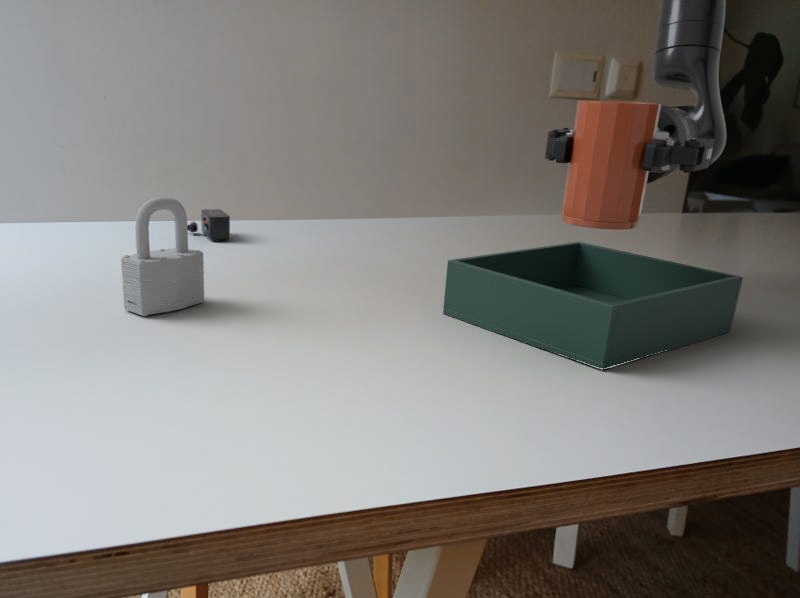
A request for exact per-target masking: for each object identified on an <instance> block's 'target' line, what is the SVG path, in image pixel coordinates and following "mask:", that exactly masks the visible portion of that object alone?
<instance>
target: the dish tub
mask: <svg viewBox="0 0 800 598" xmlns="http://www.w3.org/2000/svg"><path fill="white" fill-rule="evenodd" d="M445 278H446V279H445V287H444V299H443V310H442V314H443V315H446V316H449V317H452V318H455V319H457V320H460V321H462V320H463V322H466V323H468V324H471V325H474V326H476V325H477V326H476V327H480V328H483V329H485V330H487V329H488V330H489V331H490V332H493V333H496V334H499V335H501V334H502V336H504V335H505V336H504V337H507V336H508V337H507V338H509V339H512V338H513V339H512V340H515V339H516V340H515V341H518V340H519V341H518V342H521V341H523V342H522V343H524V342H526V343H528V344H527V345H529V344H531V345H530V346H532V345H534V346H533V347H535V346H536V347H535V348H537V347H539V348H538V349H540V348H543V349H546V350H548V351H547V352H549V351H552V352H555V353H557V354H561V355H564V356H567V357H569V358H573V359H575V360H579V361H582V362H585V363H587V364H590V365H593V366H596V367H599V368H603V369H604V368H607V367H610V366H613V365H617V364H621V363H624V362H627V361H631V360H634V359H637V358H641V357H645V356H647V355H651V354H655V353H658V352H661V351H665V350H669V349H672V350H674V349H673V348H675V349H678V348H677V347H679V348H681V346H682V347H685V346H688V345H691V344H690V343H692V344H694V342H695V343H697V341H698V342H701V341H705V340H708V339H711V338H714V336H715V337H717V336H721V335H724V334H727V333H731V330H732V326H733V322H734V317H735V313H736V310H737V305H738V300H739V296H740V293H741V292H740V291H741V289H742V284H743V279H744V276H740V275H736V274H733V273H732V274H731V273H726V272H722V271H718V270H713V269H709V268H703V267H699V266H694V265H690V264H685V263H684V264H683V263H680V262H676V261H671V260H665V259H661V258H656V257H651V256H648V255H644V254H643V255H642V254H638V253H634V252H633V253H632V252H629V251H624V250H619V249H614V248H610V247H605V246H600V245H596V244H590V243H586V242H582V241H574V242H573V241H572V242H567V243H560V244H552V245H546V246H545V245H544V246H538V247H533V248H532V247H531V248H524V249H517V250H512V251H511V250H509V251H504V252H497V253H490V254H483V255H482V254H481V255H475V256H474V255H473V256H467V257H461V258H453V259H447V267H446V277H445ZM704 339H705V340H704ZM700 340H701V341H700ZM526 343H525V344H526ZM687 344H688V345H687ZM684 345H685V346H684ZM543 349H542V350H543ZM546 350H545V351H546ZM669 351H670V350H669ZM665 352H666V351H665ZM557 354H556V355H557Z"/></svg>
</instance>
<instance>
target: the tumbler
mask: <svg viewBox="0 0 800 598" xmlns="http://www.w3.org/2000/svg"><path fill="white" fill-rule="evenodd" d="M661 105H662V103H657V102H656V103H655V102H637V101H617V100H616V101H614V100H584V99H583V100H582V99H581V100H577V105H576V110H575V111H576V112H575V117H574V118H575V119H574V124H573V130H574V131H573V138H572V144H571V151H570V158H569V163H567V171H566V178H565V186H564V191H563V192H564V193H563V199H562V206H561V217H560V220H561V221H562V222H563V223H567V224H569V225H573V226H576V227H583V228H589V229H599V230H632V229H636V228H638V227H639V223H640V219H641V216H642V211H643V206H644V205H643V204H644V199H645V196H646V195H645V194H646V189H647V185H648V184H647V179H648V173H649V171H643V162H644V156H645V151H646V146H647V144H648V142H653V141H655V136H656V130H657V125H658V120H659V114H660V109H661Z"/></svg>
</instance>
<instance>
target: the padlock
mask: <svg viewBox="0 0 800 598" xmlns="http://www.w3.org/2000/svg"><path fill="white" fill-rule="evenodd" d="M162 210H166V211H170V212H171V213H172V216H173V220H174V233H175V234H174V238H175V239H174V241H175V247H174V248H173V247H172V248H159V249H155V250H151V249H150V228H149V227H150V220H151V217H152V215H153V214H154V213H155V212H158V211H162ZM187 226H188V217H187V212H186V209H185V207H184V205H183V204H182V202H180V201H178V200H177V199H175V198H173V197H168V196H157V197H153V198H151V199H149V200H146V201H145V202H144V203H143V204H142V205H141V206H140V207H139V209H138V210H137V213H136V216H135V228H134V229H135V246H136V253H134V254H129V255H128V254H126V255H124V256H122V257H121V259H120V263H121V265H120V266H121V277H122V278H121V280H122V295H123V309H124V310H126V311H128V312H132V313H134V314H136V315H140V316H142V317H147V316H148V315H154V314H155V315H156V314H163V313H169V312H174V311H178V310H183V309H186V308H188V307H191V306H194V305H198V304H199V305H201V304H202V303H204V302H205V272H204V271H205V270H204V268H205V267H204V266H205V265H204V262H205V260H204V252H203V251H201V250H199V249H193V248H190V247H189V235H188V233H189V231H188V230H187Z"/></svg>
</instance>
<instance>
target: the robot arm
mask: <svg viewBox="0 0 800 598" xmlns="http://www.w3.org/2000/svg"><path fill="white" fill-rule="evenodd" d="M726 3H727V1H726V0H659V8H658V18H657V26H656V34H655V42H654V49H653V57H652V64H651V78H652V80H653V82H654V83H655V84H657V85H658V86H662V87H665V88H670V89H677V90H683V91H687V92H690V93H691V94H692V95H694V97H695V98H694V99H695V103H693V104H681V105H680V104H679V105H665V104H661V109H660V114H659V120H658V125H657V130H656V136H655V141H653V142H648V144H647V146H646V151H645V156H644V162H643V171H649V173H648V179H647V184H646V185H648V184H651V183H654V182H656V181H657V180H660V179H663V178H665V177H666V176H669V175H670V174H672V173H673V172H674V171H676V170H677V169H678V171H680V172H681V171H682V172H683V173H685V174H686V173H687V174H689V173H691V172H697V171H700V170H705V169H708V168H709V167H710V166H711V165H712V164H713V163H715V162H716V161H717V160H718V159H719V158H720V156H722V153H723V151H724V149H725V147H726V144H727V127H726V125H727V124H726V119H725V114H724V110H723V105H722V99H721V91H720V80H719V76H720V75H719V72H720V71H719V70H720V58H721V51H722V44H723V35H724V29H725V19H726V5H727V4H726ZM573 131H574V129H569V127H563V128H559V129H552V130H548V132H547V139H546V146H545V151H544V152H545V153H544V159H546V160H548V161H550V162H553V161H555V163H556V164H569V158H570V151H571V144H572V138H573Z"/></svg>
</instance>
